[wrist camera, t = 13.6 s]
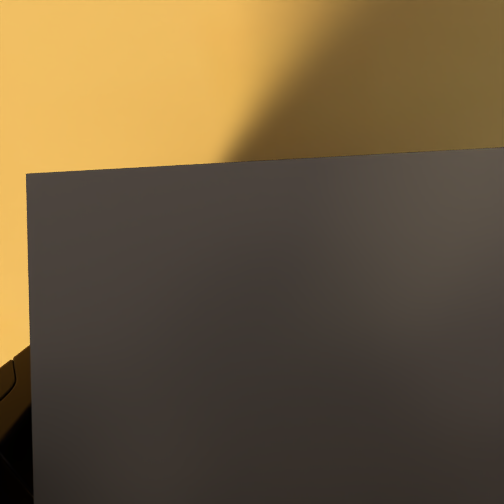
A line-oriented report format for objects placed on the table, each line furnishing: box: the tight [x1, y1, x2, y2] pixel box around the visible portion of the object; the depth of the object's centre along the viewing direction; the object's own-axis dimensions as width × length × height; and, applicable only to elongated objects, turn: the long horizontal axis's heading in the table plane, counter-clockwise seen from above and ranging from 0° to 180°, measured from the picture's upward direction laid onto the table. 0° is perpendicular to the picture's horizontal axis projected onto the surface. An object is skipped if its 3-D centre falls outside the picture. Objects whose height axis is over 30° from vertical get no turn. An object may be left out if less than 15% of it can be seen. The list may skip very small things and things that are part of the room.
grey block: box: [26, 147, 504, 504], centre depth 9 cm, size 8×8×9 cm
